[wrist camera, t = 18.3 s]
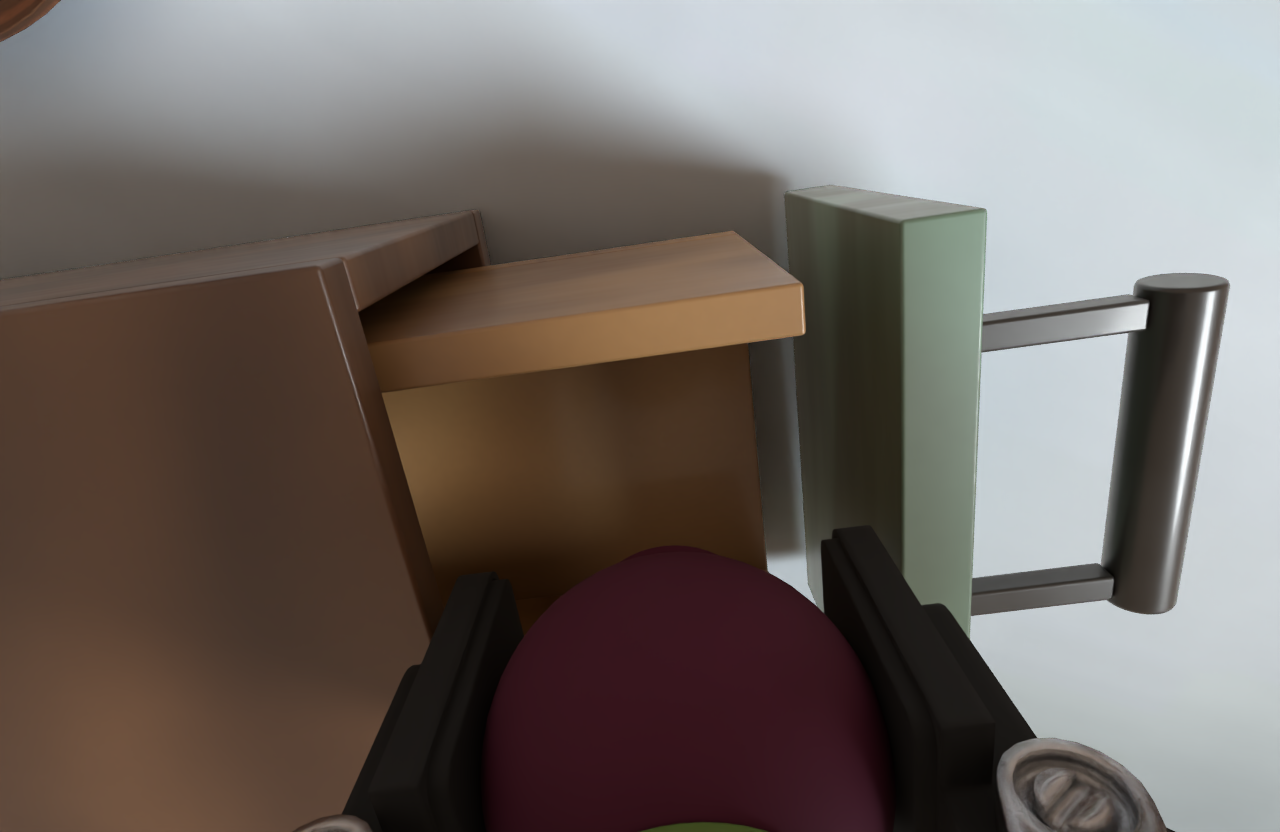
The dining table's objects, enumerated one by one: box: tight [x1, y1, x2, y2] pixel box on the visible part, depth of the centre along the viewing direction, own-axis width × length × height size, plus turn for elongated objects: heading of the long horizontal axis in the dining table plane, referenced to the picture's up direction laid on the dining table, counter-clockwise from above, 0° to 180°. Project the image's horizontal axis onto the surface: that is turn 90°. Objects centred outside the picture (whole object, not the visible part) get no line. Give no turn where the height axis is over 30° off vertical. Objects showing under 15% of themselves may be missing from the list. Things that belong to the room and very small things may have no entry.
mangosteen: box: [480, 545, 896, 832], centre depth 8 cm, size 5×5×6 cm
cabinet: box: [0, 209, 491, 832], centre depth 16 cm, size 15×13×10 cm
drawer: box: [358, 185, 1230, 639], centre depth 15 cm, size 19×11×8 cm, turn 98°
